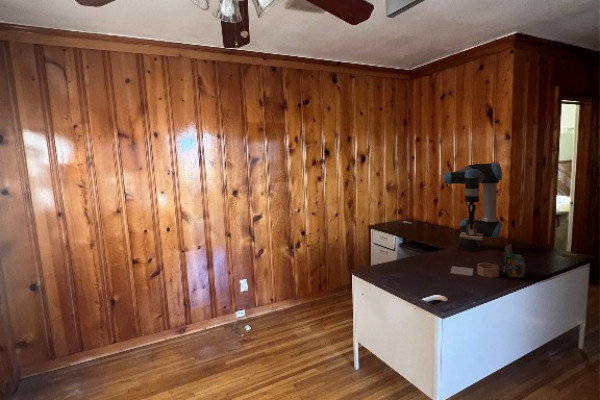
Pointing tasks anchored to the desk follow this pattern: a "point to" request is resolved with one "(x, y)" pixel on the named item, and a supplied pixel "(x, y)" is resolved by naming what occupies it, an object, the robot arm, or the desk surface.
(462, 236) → the tan wooden stand
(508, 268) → the green labelled jug
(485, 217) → the robot arm
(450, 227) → the desk surface
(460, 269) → the mat
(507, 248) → the ruin model on sheet
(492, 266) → the bowl
